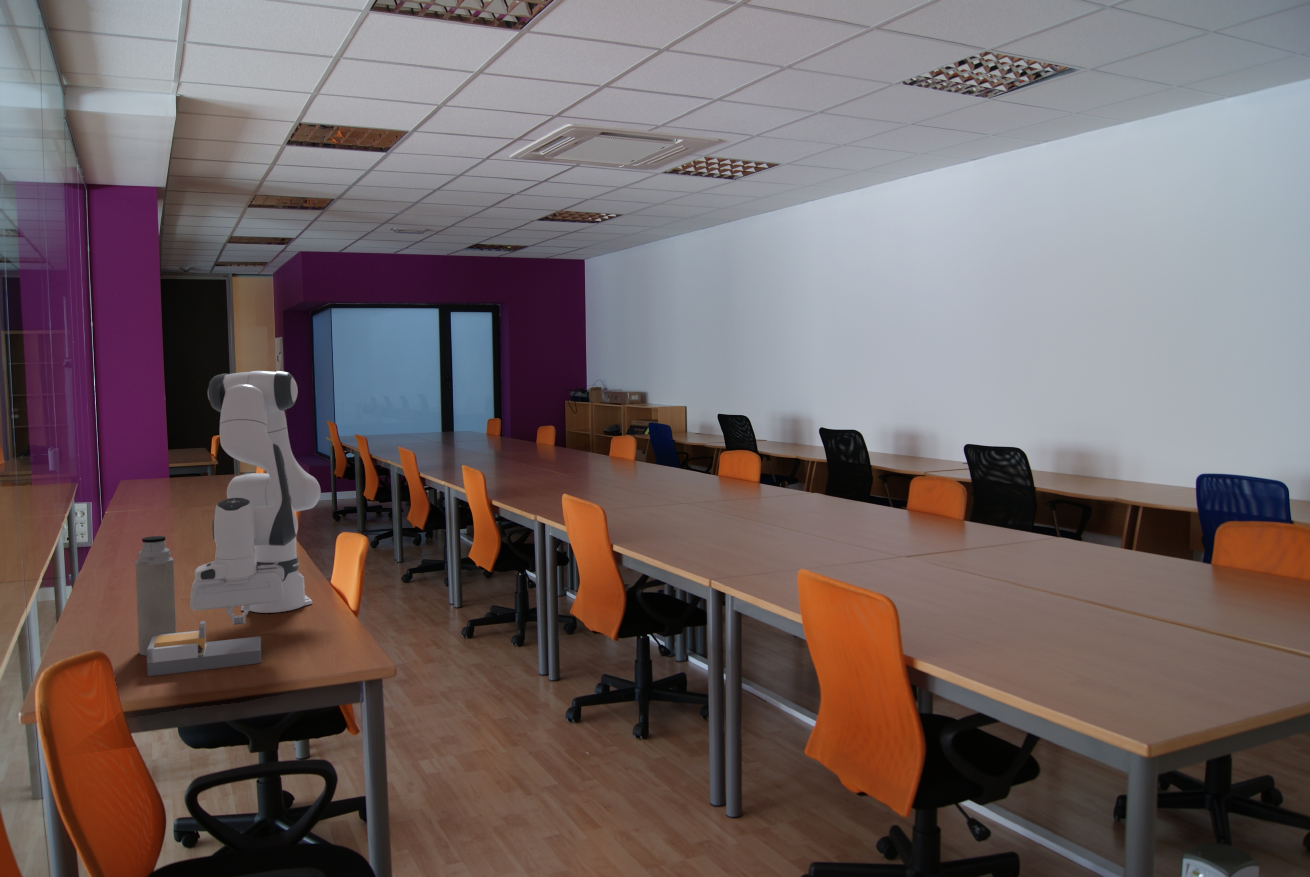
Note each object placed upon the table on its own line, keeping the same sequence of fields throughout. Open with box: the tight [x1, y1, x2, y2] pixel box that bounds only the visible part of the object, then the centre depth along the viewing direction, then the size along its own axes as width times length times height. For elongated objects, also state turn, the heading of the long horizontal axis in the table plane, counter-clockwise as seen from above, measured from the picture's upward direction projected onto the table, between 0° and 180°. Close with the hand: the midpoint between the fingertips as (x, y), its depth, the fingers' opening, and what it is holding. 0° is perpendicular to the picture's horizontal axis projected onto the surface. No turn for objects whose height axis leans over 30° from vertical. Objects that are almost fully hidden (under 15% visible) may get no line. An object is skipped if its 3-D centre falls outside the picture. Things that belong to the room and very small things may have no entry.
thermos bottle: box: [135, 535, 177, 657], centre depth 210 cm, size 8×8×28 cm
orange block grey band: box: [155, 620, 207, 653], centre depth 200 cm, size 6×10×6 cm, turn 114°
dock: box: [146, 630, 262, 677], centre depth 203 cm, size 12×23×6 cm, turn 114°
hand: (238, 623), depth 207 cm, fingers closed
